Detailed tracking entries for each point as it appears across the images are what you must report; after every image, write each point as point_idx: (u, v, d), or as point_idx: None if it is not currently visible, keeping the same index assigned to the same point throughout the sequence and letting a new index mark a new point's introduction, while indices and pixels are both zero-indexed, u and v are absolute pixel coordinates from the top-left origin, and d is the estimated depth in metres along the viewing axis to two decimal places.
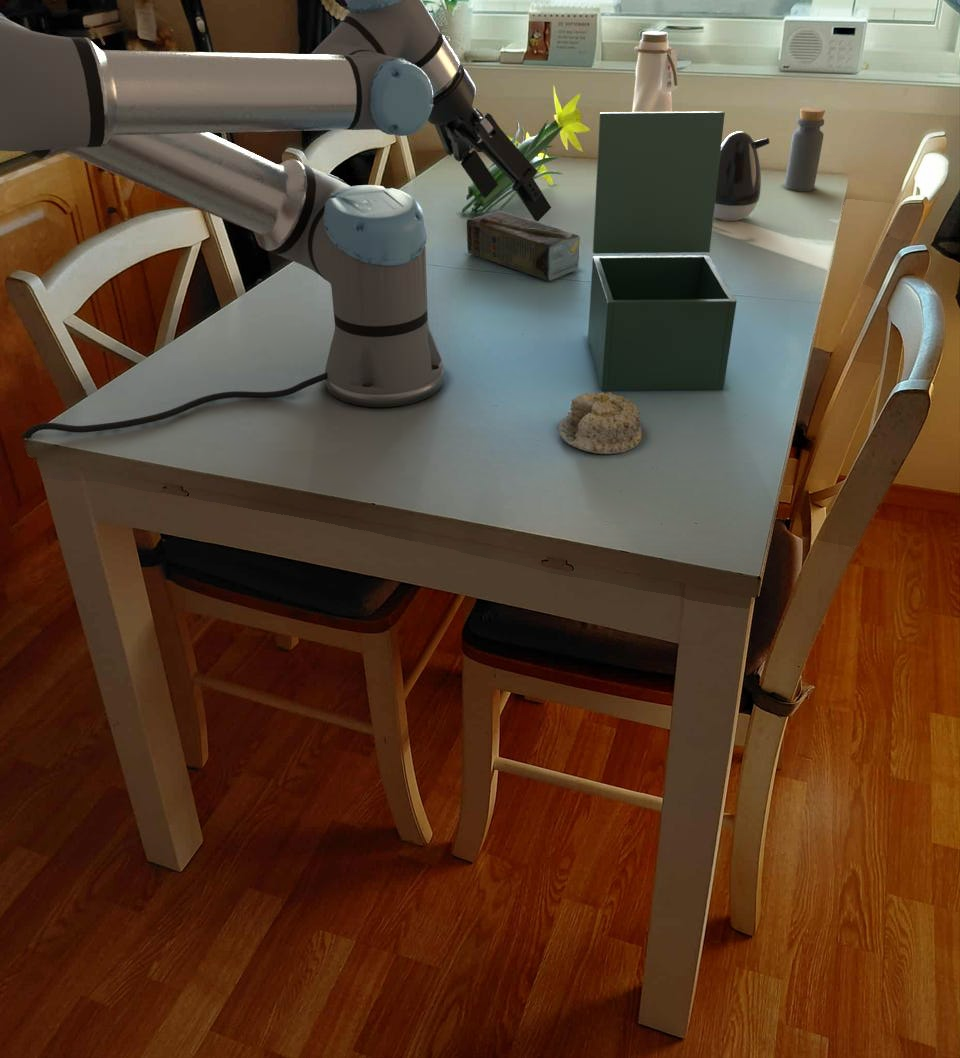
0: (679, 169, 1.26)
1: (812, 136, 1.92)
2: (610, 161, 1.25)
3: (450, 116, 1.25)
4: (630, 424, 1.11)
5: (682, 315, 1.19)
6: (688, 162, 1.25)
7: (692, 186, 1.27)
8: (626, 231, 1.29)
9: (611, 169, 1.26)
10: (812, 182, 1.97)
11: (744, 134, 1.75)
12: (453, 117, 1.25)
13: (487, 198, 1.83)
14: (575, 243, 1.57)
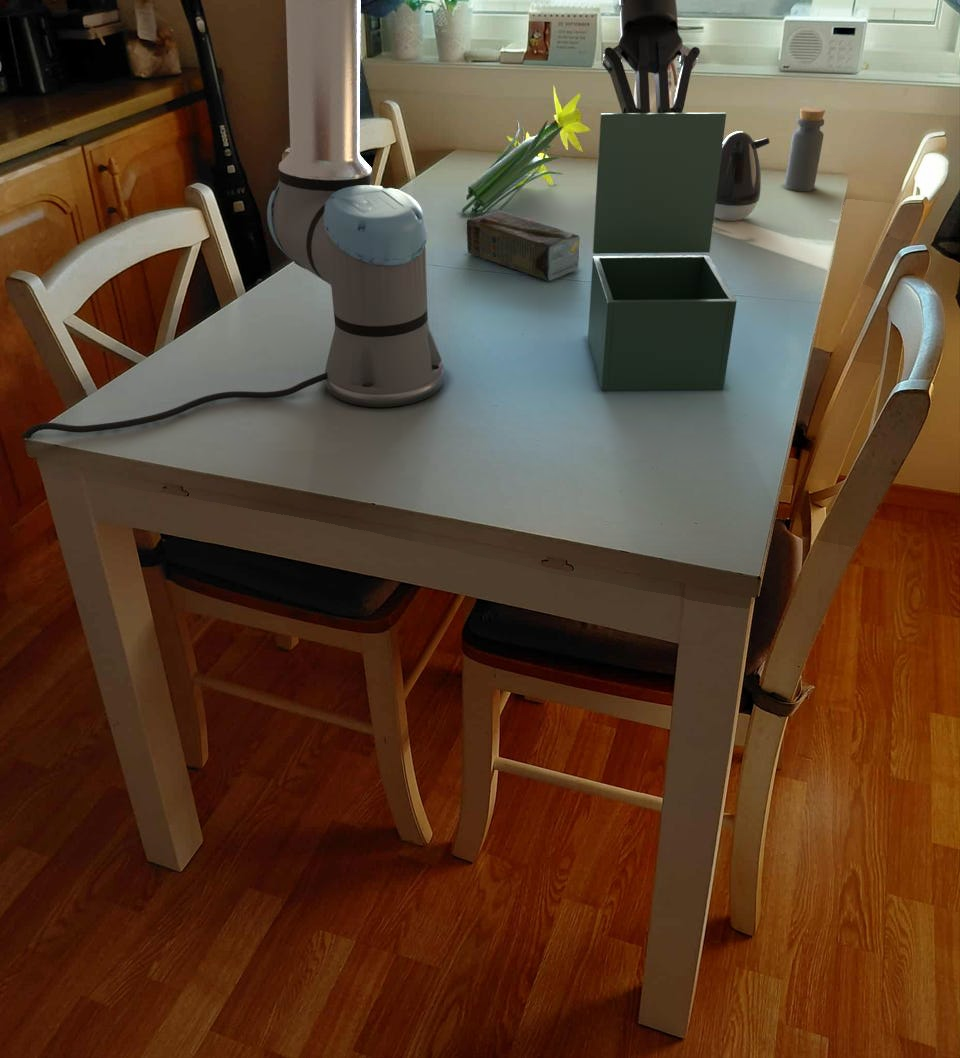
0: (680, 170, 1.25)
1: (812, 136, 1.92)
2: (611, 162, 1.25)
3: (675, 16, 1.29)
4: None
5: (682, 315, 1.19)
6: (688, 163, 1.25)
7: (693, 187, 1.26)
8: (627, 232, 1.29)
9: (612, 170, 1.25)
10: (812, 182, 1.97)
11: (744, 134, 1.75)
12: (676, 19, 1.29)
13: (487, 198, 1.83)
14: (575, 243, 1.57)
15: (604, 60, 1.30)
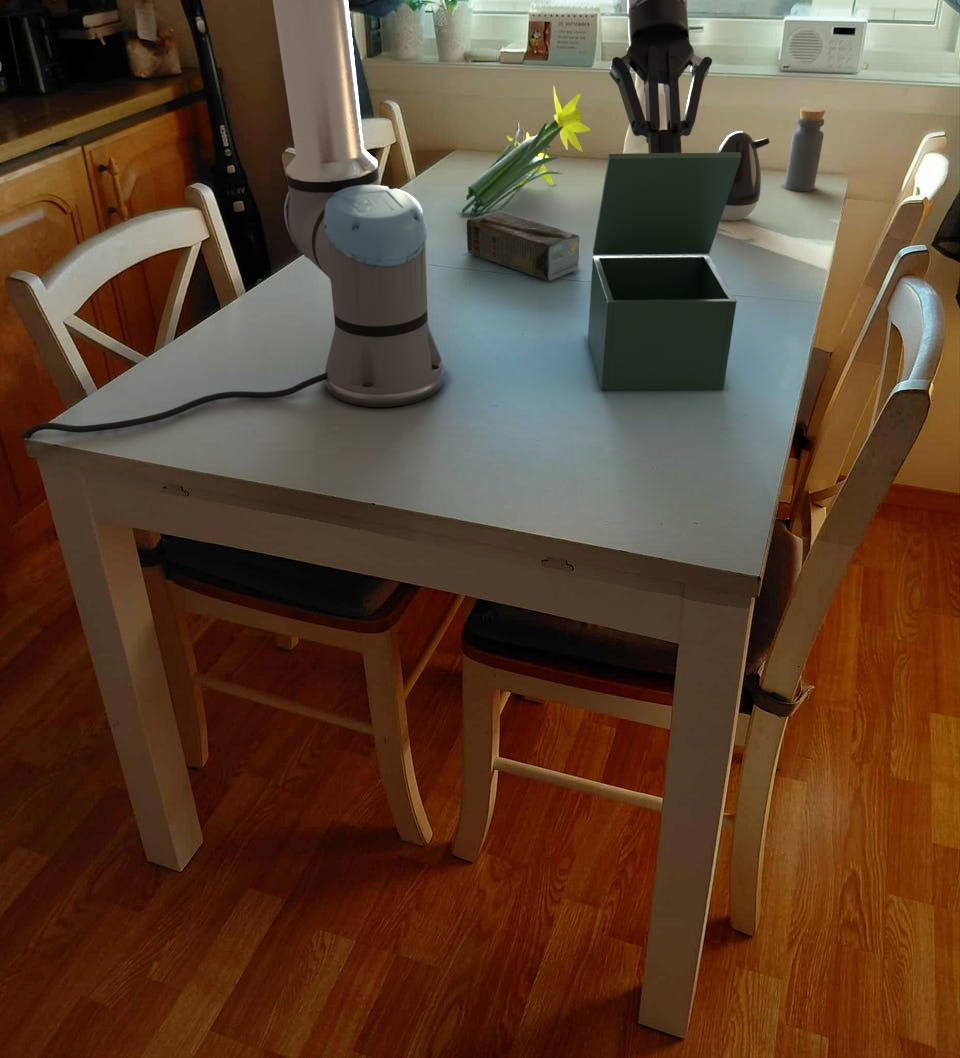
0: (687, 198, 1.21)
1: (812, 136, 1.92)
2: (616, 193, 1.20)
3: (686, 24, 1.23)
4: None
5: (682, 315, 1.19)
6: (696, 193, 1.21)
7: (699, 210, 1.23)
8: (628, 240, 1.28)
9: (616, 198, 1.21)
10: (812, 182, 1.97)
11: (744, 134, 1.75)
12: (687, 28, 1.23)
13: (487, 198, 1.83)
14: (575, 243, 1.57)
15: (612, 70, 1.24)
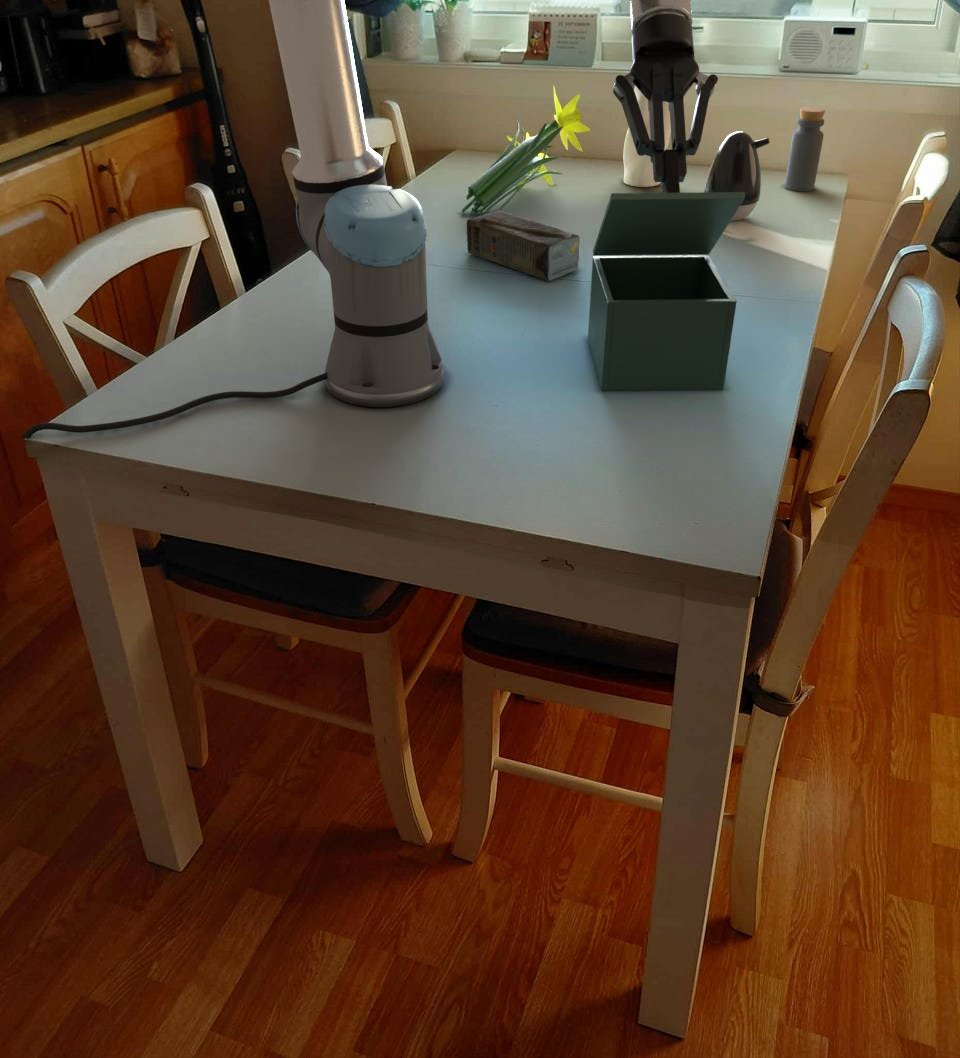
0: (688, 222, 1.21)
1: (812, 136, 1.92)
2: (617, 219, 1.20)
3: (691, 42, 1.20)
4: None
5: (682, 315, 1.19)
6: (698, 219, 1.20)
7: (700, 229, 1.23)
8: (628, 247, 1.28)
9: (618, 223, 1.20)
10: (812, 182, 1.97)
11: (744, 134, 1.75)
12: (692, 45, 1.20)
13: (487, 198, 1.83)
14: (575, 243, 1.57)
15: (615, 89, 1.21)
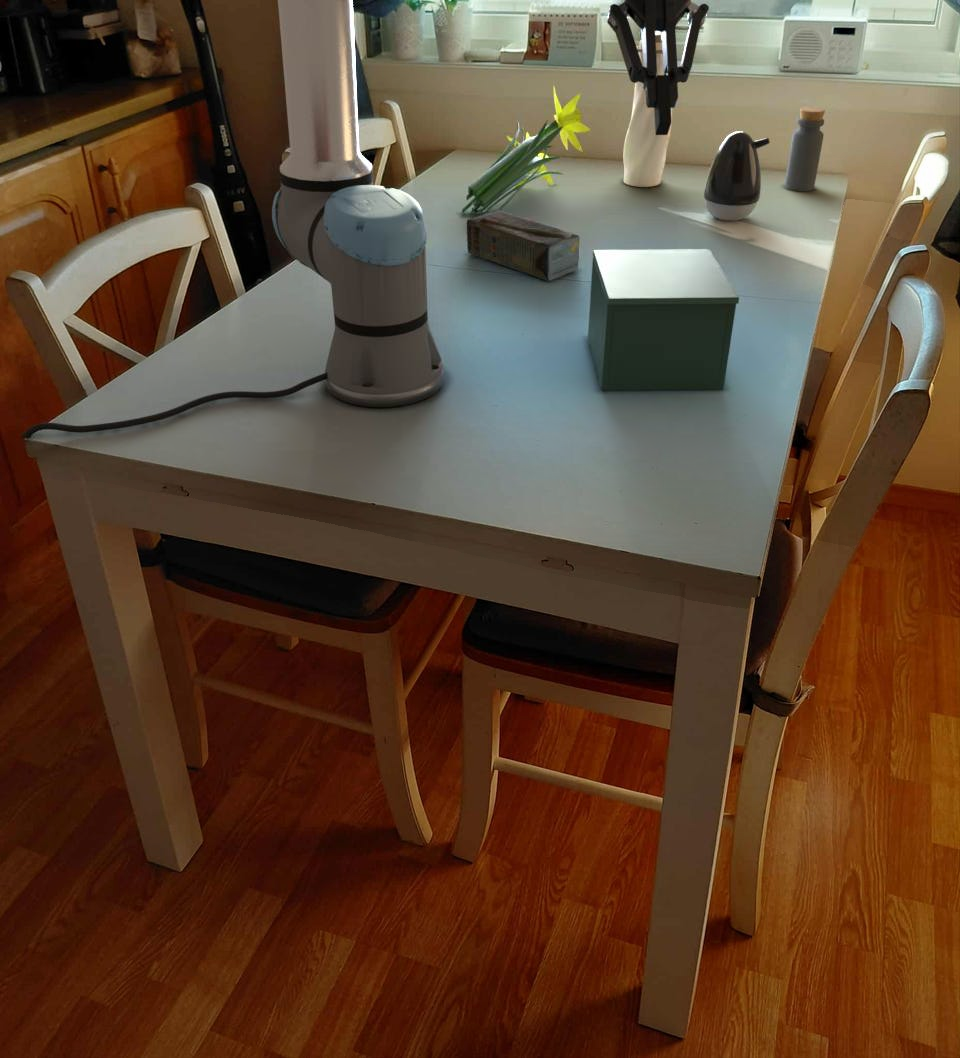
0: None
1: (812, 136, 1.92)
2: None
3: None
4: None
5: (682, 315, 1.19)
6: None
7: None
8: None
9: None
10: (812, 182, 1.97)
11: (744, 134, 1.75)
12: None
13: (487, 198, 1.83)
14: (575, 243, 1.57)
15: (609, 18, 1.25)
